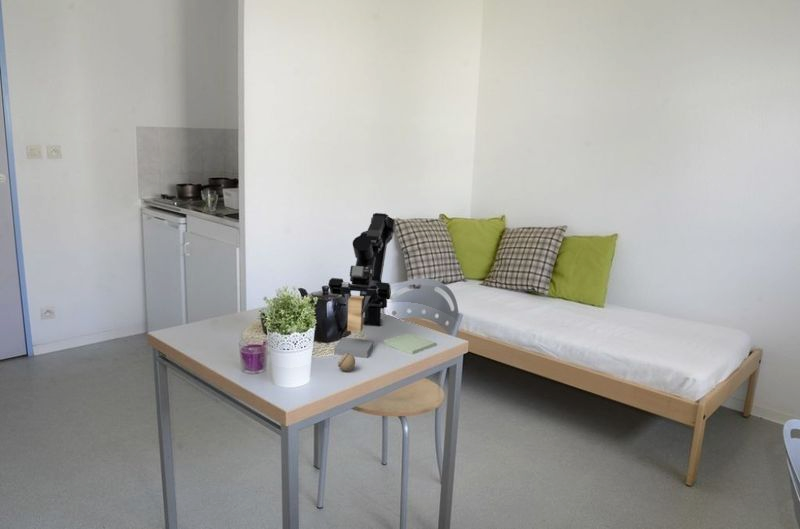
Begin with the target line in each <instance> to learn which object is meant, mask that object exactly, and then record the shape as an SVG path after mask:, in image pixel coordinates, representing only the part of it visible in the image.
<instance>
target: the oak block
mask: <svg viewBox="0 0 800 529" xmlns="http://www.w3.org/2000/svg"><path fill="white" fill-rule="evenodd" d="M363 303H364V296H360V295H354V294H351V296H350V297H349V299H348V313H347V327H346V328H347V329H346V330H347V332H355V333H356V332H357V333H361V331H363V329H364V325H363V319H364V313H365V312H364V313H363V314H362V313H361V311H362V306H363Z"/></svg>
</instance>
